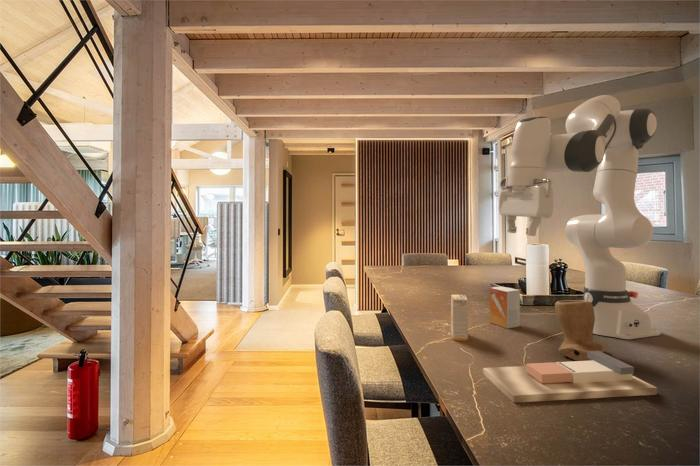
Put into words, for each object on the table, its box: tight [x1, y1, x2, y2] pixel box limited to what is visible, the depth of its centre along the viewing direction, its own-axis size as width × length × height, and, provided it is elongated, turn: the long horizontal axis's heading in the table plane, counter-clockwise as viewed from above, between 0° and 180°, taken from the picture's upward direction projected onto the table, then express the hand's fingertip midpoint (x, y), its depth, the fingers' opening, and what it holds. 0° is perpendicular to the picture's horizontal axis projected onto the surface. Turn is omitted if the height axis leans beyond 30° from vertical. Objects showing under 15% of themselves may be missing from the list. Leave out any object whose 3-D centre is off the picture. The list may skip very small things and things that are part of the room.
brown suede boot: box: [554, 299, 605, 361], centre depth 101 cm, size 15×12×15 cm
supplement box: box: [450, 294, 469, 342], centre depth 117 cm, size 8×5×13 cm, turn 168°
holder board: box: [482, 365, 658, 403], centre depth 83 cm, size 32×14×2 cm, turn 95°
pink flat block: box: [525, 362, 572, 383], centre depth 83 cm, size 7×6×2 cm
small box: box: [489, 285, 521, 329], centre depth 129 cm, size 8×6×13 cm
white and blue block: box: [555, 351, 635, 383], centre depth 83 cm, size 14×10×4 cm
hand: (520, 234), depth 94 cm, fingers open, 8 cm apart
